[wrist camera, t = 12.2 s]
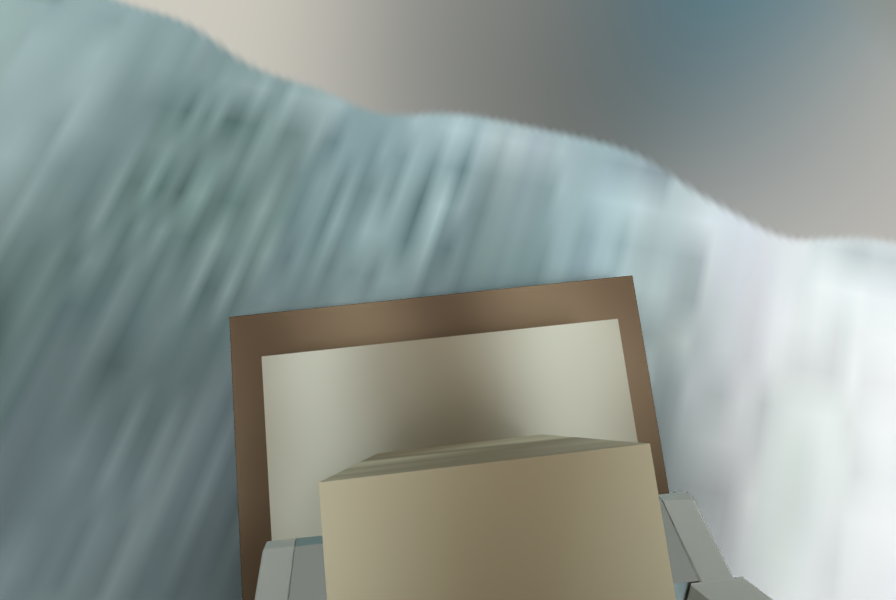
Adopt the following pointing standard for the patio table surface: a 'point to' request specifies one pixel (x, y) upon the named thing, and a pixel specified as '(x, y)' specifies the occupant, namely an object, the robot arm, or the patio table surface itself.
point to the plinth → (407, 330)
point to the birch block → (498, 523)
